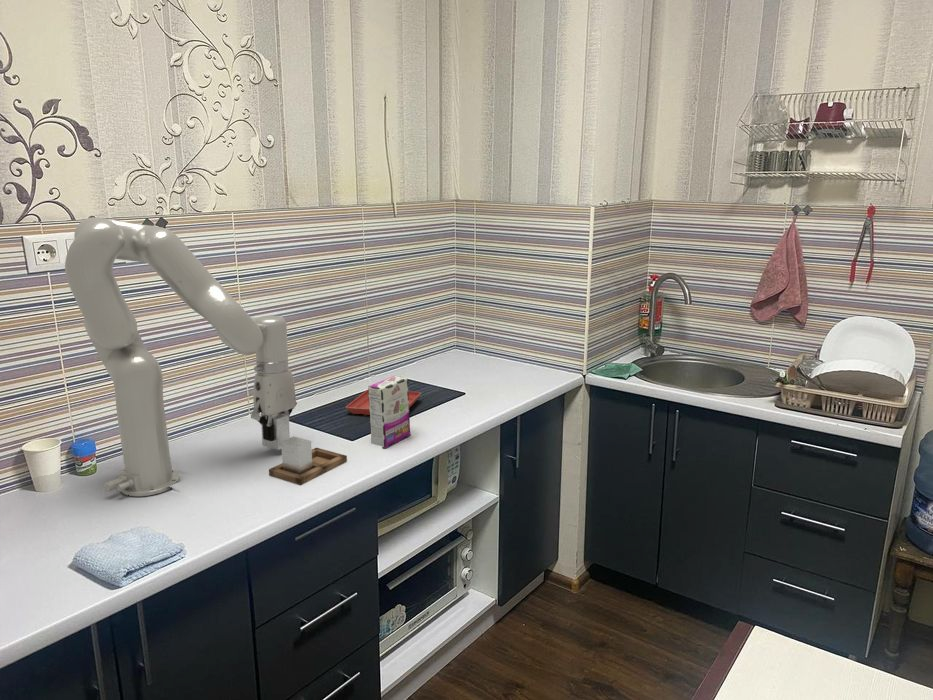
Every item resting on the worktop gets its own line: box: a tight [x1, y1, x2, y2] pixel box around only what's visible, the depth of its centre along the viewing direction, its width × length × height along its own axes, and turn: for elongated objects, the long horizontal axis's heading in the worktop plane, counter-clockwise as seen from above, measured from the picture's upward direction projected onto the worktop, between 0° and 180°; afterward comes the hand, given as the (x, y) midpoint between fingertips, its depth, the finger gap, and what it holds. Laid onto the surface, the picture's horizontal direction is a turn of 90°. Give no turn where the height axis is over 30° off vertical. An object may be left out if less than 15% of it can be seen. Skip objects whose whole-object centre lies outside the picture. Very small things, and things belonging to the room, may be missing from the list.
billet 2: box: [280, 436, 313, 475], centre depth 158 cm, size 4×6×8 cm
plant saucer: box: [345, 389, 422, 416], centre depth 207 cm, size 18×18×3 cm
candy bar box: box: [367, 375, 411, 449], centre depth 180 cm, size 11×5×16 cm, turn 148°
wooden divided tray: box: [268, 447, 348, 486], centre depth 162 cm, size 16×10×2 cm, turn 148°
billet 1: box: [260, 413, 291, 451], centre depth 171 cm, size 4×6×8 cm
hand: (275, 436), depth 171 cm, fingers closed on billet 1, 4 cm apart
